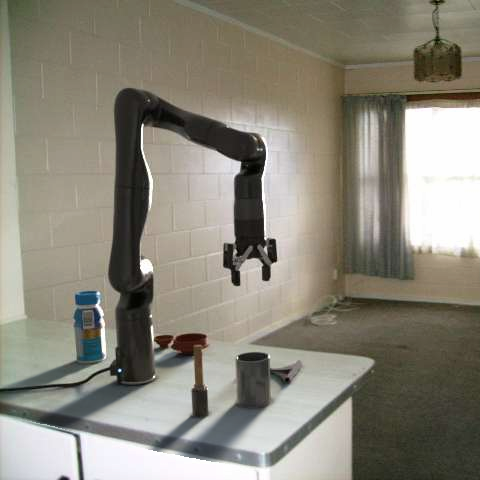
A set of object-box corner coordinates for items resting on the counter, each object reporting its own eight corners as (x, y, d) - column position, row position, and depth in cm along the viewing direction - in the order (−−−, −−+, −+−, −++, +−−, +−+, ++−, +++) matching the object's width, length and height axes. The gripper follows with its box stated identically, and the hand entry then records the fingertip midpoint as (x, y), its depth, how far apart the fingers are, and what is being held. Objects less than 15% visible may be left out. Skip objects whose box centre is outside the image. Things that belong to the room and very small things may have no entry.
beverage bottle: (69, 362, 184) (64, 294, 182) (90, 354, 192) (86, 289, 189) (92, 365, 181) (88, 296, 178) (112, 356, 189) (108, 290, 186)
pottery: (192, 359, 184) (191, 345, 184) (142, 350, 195) (142, 336, 194) (218, 349, 194) (217, 335, 194) (170, 341, 205) (169, 327, 204)
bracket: (250, 364, 179) (250, 354, 179) (302, 366, 177) (302, 356, 176) (234, 381, 165) (234, 371, 165) (290, 384, 163) (290, 373, 162)
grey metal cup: (236, 409, 147) (234, 362, 145) (237, 396, 155) (236, 352, 153) (271, 407, 147) (269, 361, 146) (270, 394, 155) (269, 351, 154)
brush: (191, 417, 142) (188, 348, 140) (193, 411, 146) (190, 343, 144) (207, 417, 142) (204, 347, 140) (209, 410, 146) (206, 343, 144)
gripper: (264, 213, 159) (266, 277, 161) (215, 217, 150) (217, 285, 152) (282, 215, 154) (284, 281, 156) (233, 219, 144) (235, 289, 146)
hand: (251, 283), depth 154 cm, fingers open, 8 cm apart
